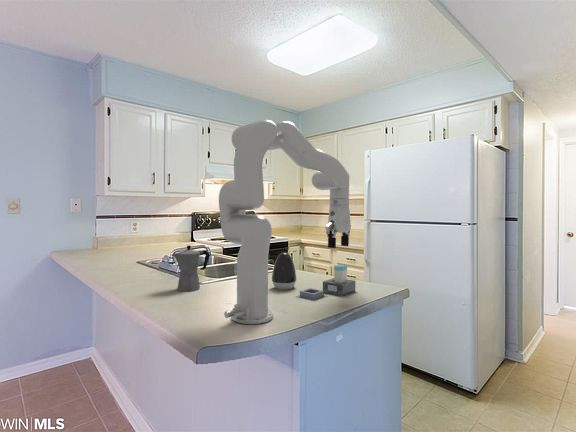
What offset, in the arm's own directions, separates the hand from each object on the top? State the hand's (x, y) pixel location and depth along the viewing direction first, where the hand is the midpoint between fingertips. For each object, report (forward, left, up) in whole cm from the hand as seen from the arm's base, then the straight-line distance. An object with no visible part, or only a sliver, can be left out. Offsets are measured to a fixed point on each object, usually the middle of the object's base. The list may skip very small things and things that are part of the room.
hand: (338, 246), depth 132 cm
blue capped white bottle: (0, -1, -17) cm, 17 cm away
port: (0, 0, -18) cm, 18 cm away
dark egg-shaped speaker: (-9, +21, -19) cm, 29 cm away
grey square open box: (-13, +4, -18) cm, 23 cm away
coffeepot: (-34, +50, -19) cm, 63 cm away
